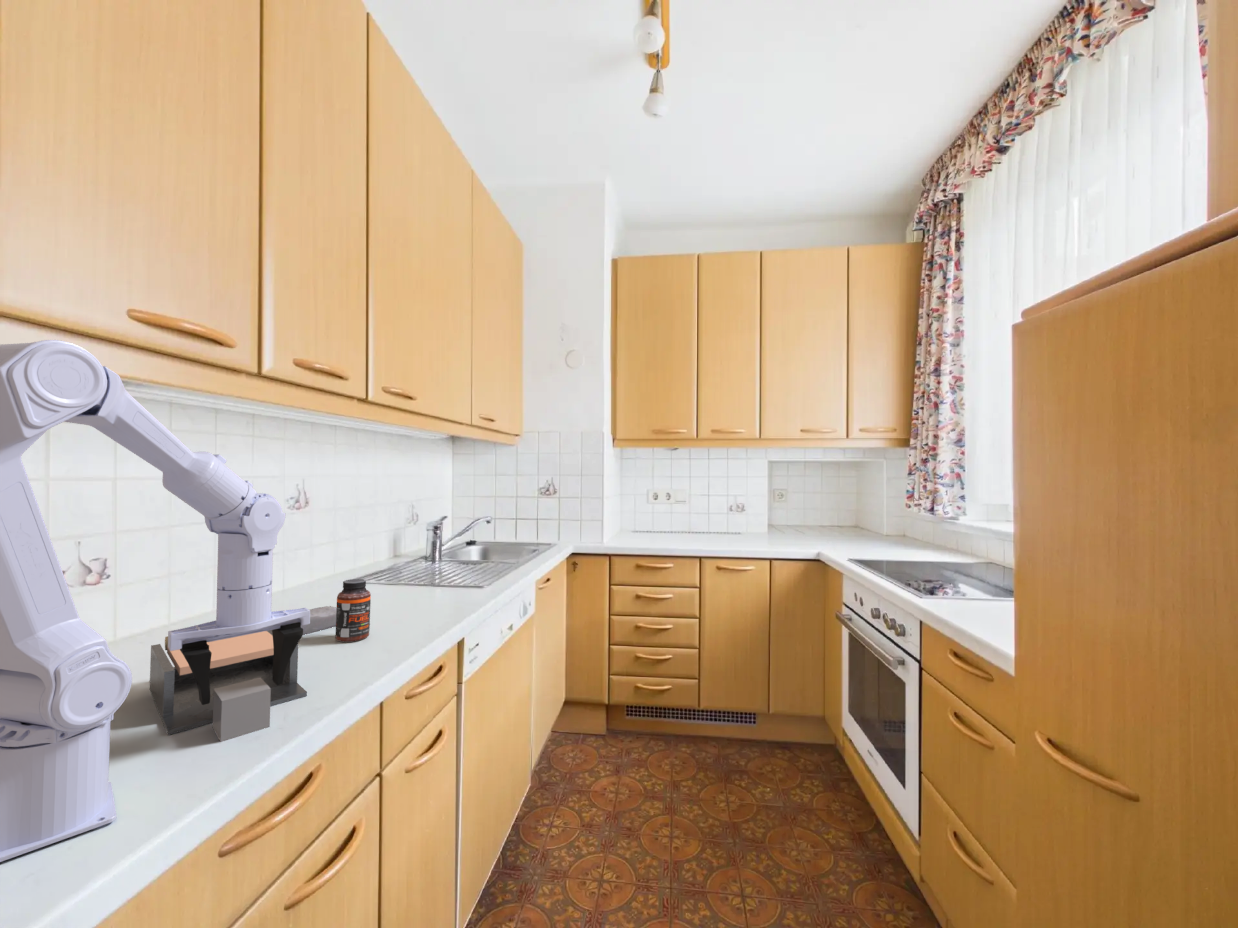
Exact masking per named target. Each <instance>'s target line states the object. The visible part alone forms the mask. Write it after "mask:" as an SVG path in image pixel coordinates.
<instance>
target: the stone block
mask: <svg viewBox="0 0 1238 928" xmlns="http://www.w3.org/2000/svg"><path fill="white" fill-rule="evenodd" d="M336 609H337V606H336V607H335V606H332V605H329V606H327V605H326V606H321V607H315V608H311V609H309V610H310V624H307V625H301V628H302V629H303V635H302V636H305V634H306V635H309V634H312V633H316V632H320V630H321V631H325V630H327V629H332V627H333V628H336Z"/></svg>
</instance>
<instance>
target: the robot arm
mask: <svg viewBox="0 0 1238 928" xmlns="http://www.w3.org/2000/svg"><path fill="white" fill-rule="evenodd" d="M101 363H102V362H100V360H99V359H98V358H97V357H96V356H95V355H94V354H92V353H91V352H90V351H88V350H87V349H85V348H84V347H82V346H80V345H77V344H75V343H72V342H69V341H67V340H66V341H65V340H59V339H44V340H39V341H34V342H24V343H23V342H21V343H5V344H4V343H3V344H0V863H2V862H4V861H7V860H10V859H13V858H15V857H18V856H21V855H24V854H27V853H29V852H32V851H35V850H39V849H41V848H43V847H46V846H49V845H52V844H54V843H58V842H60V841H63V840H66V839H68V838H69V839H70V838H72V837H74V836H77V835H80V834H83V833H86V832H88V831H90V830H91V831H92V830H94V829H96V828H100V827H102V826H105V825H108V824H110V823H113V822H114V821H115V820H116V819H117V810H116V803H115V798H114V791H113V785H112V782H111V781H110V779H109V776H110V774H109V773H110V750H111V749H110V743H111V741H110V740H111V722H112V721H113V720H114V718H115V717H114V716H115V715H114V714H115V713H116V711H117V710H119V709H120V707H121V706H122V704H123V703H124V702H125V700H126V699H127V697H128V695H129V694H130V691H131V687H132V681H133V674H132V671H131V669H130V667H129V665H128V664H127V662H125V661H124V660H122V659H120V658H119V657H118V656H116V655H114V654H113V652H112V651H111V649H110V647H109V644H108V641H107V640H106V639H105V638H104V636H102V635H101V634H100V633H98V632H97V631H96V630H94V629H93V628H92V627H91V626H89V625H88V624H87V623H86V622H84V621H83V620H82V619H81V618H80V616H79V613H78V611H77V607H76V605H75V602H74V600H73V596H72V594H71V591H70V589H69V585H68V583H67V580H66V578H65V575H64V573H63V569H62V567H61V563H60V561H59V559H58V555H57V553H56V549H55V547H54V544H53V542H52V539H51V536H50V533H49V531H48V529H47V525H46V523H45V520H44V518H43V515H42V511H41V509H40V506H39V504H38V501H37V499H36V495H35V493H34V490H33V488H32V487H33V486H32V485H31V482H30V479H29V477H28V474H27V471H26V468H25V465H24V463H23V460H22V456H23V454H24V453H25V452H26V451H27V450H28V449H29V448H30V447H32V445H34V443H35V442H37V441H38V440H39V439H40V438H41V437H42V436H43V435H44V434H45V433H46V432H47V431H48V430H51V429H53V428H54V427H56V426H58V425H60V424H62V423H69V424H79V425H86V426H90V427H92V428H94V429H96V430H97V431H99V432H100V433H102V434H103V435H105V436H106V437H108V438H109V439H111V440H112V441H114V442H115V443H118V444H119V445H120V446H122V447H123V448H125V449H126V450H128V451H130V452H131V453H133V454H134V455H136V456H137V457H139V458H140V459H142V460H143V461H145V462H147V463H148V464H149V465H151V466H153V467H154V468H155V469H157V470H159V471H161V472H162V478H161V479H162V481H161V482H162V486H163V488H164V489H165V490H166V491H168V492H170V493H171V494H172V495H174V496H175V497H176V498H177V499H179V500H181V501H182V502H183V503H185V504H186V505H188V506H189V507H191V508H192V509H194V510H195V511H197V512H198V513H199V514H201V515H202V516H204V523H205V525H206V528H207V530H208V531H209V532H210V533H215V534H216V535H217V537H218V538H217V565H216V566H217V569H216V570H217V576H216V577H217V579H216V616H215V620H212V621H208V622H204V623H200V624H197V625H196V624H195V625H192V626H187V627H182V628H177V629H173V630H169V631H167V636H168V648H169V650H170V651H174V650H179V649H180V651H181V652H182V654H183V655H184V657H185V659H186V661H187V662H188V664H189V666H190V668H191V671H192V673H193V675H194V678H195V681H196V684H197V687H198V692H199V700H200V702H201V704H202V705H205V704H209V703H210V683H209V674H210V663H211V655H212V653H211V651H210V650H209V645H208V644H207V642H212V641H217V640H222V639H227V638H233V637H238V636H243V635H248V634H253V633H258V632H264V631H269V630H272V634H273V648H274V659H273V671H272V676H273V682H274V683H275V684H276V685H280V684H283V681H284V676H285V672H286V669H287V666H288V663H289V661H290V658H291V656H292V654H293V651H294V649H295V648H296V646H297V644H298V645H299V642H300V641H301V639H302V638H303V636H304V635H303V629H302V628H301V625H307V624H310V609H308V608H307V607H301V608H295V609H294V608H293V609H286V610H274V611H272V608H273V607H272V604H273V603H272V601H273V599H272V598H273V597H272V596H273V595H272V594H273V564H274V563H273V562H274V561H273V558H274V556H273V555H274V552H273V551H274V549H275V548H276V545H277V543H278V535H279V532H280V530H281V529H282V527H283V526H284V524H285V520H286V512H283V508H282V505H281V504H280V502H279V501H278V500H277V499H276V498H275V497H274V496H273V495H271V494H269V493H263V492H262V493H261V492H260V493H259V492H257V491H256V489H255V488H254V484H253V483H252V482H251V481H249V480H244V479H243V478H242V477H240V476H239V475H238V474H237V473H236V472H235V471H233V469H231V468H230V467H228V466H227V464H226V463H227V461H228V460H227V459H226V458H225V457H224V456H223V455H221V454H220V453H219V454H215V453H214V454H213V453H212V452H209V451H200V450H199V451H193V450H191V449H190V448H189V447H188V446H187V445H186V444H184V443H183V442H182V441H181V440H180V439H179V438H178V437H177V436H176V435H175V434H174V433H173V432H172V431H170V429H168V427H166V426H165V425H164V424H163V423H162V422H160V420H158V418H156V417H155V416H154V415H153V414H152V413H151V412H150V411H149V410H147V409H146V408H145V407H144V406H143V405H142V404H141V403H140V402H139V401H138V400H137V399H135V397H133V396H132V395H131V394H130V393H129V391H128V390H127V389H126V388H125V385H124V383H123V381H122V378H121V377H120V375H119V374H118V373H116V372H115V371H113V370H112V369H110V367H107V366H105V365H102V364H101Z"/></svg>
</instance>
